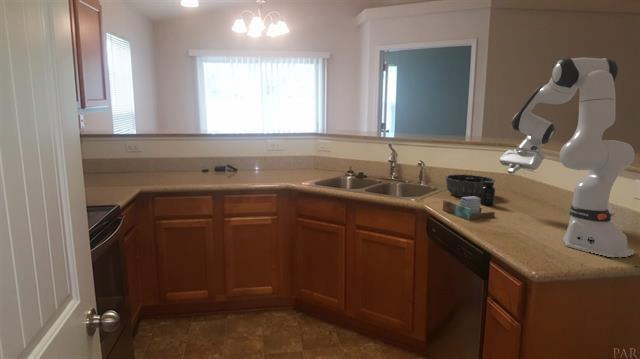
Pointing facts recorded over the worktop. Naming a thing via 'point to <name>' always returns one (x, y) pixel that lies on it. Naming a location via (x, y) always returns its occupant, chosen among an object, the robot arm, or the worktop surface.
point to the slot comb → (464, 211)
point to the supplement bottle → (487, 194)
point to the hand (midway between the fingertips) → (510, 172)
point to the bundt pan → (466, 184)
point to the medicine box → (471, 203)
